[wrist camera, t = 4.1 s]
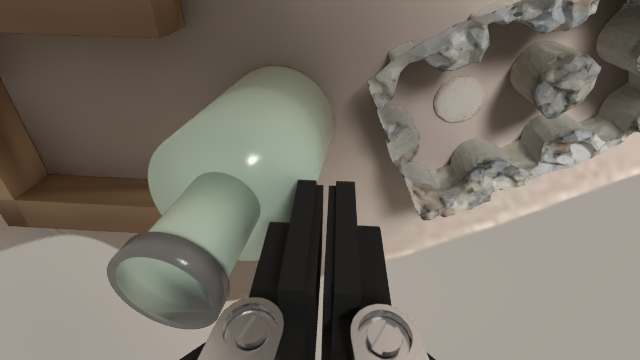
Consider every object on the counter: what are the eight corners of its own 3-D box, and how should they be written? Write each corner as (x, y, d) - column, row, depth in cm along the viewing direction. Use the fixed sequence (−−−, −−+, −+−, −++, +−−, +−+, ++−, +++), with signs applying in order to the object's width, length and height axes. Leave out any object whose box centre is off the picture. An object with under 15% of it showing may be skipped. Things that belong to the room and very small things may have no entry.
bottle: (220, 62, 15) (15, 192, 7) (336, 69, 14) (257, 223, 6) (236, 162, 18) (104, 336, 10) (333, 172, 17) (277, 370, 9)
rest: (-84, -31, 14) (-157, -29, 12) (175, -23, 13) (145, -19, 11) (41, 198, 20) (8, 225, 18) (217, 208, 20) (204, 236, 18)
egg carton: (399, 179, 18) (411, 230, 15) (356, 43, 15) (359, 71, 11) (625, 116, 16) (702, 161, 12) (642, -70, 12) (761, -79, 9)
